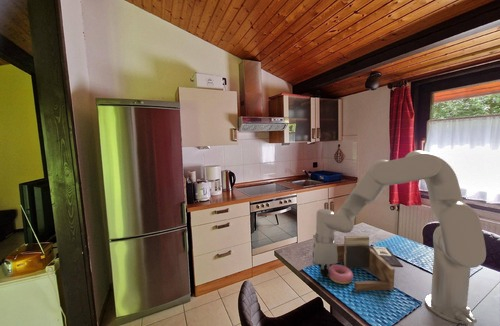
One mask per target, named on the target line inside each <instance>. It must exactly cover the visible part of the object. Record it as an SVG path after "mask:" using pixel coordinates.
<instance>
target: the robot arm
mask: <svg viewBox="0 0 500 326" xmlns="http://www.w3.org/2000/svg"><path fill="white" fill-rule="evenodd" d="M422 180H423V181H424V182H425V186H426V190H427V194H428V199H429V205H430V211H431V214H432V216H433V218H434V219H436V221H437V222H438V223H439V226H437V227H436V228H435V229H434V232H433V235H432V245H433V264H432V277H431V291H430V294H429V295H426V297H425V298H424V299H425V301H424V302H425V303H424V304H425V305H426V306H427V308H428V309H429V310H430V311H431V312H433V313H434V314H435V315H436V316H438V317H440V318H442V319H444V320H446V321H448V322H453V323H456V324H459V323H462V324H461V325H466V326H474V325H475V324H476V323H477V322H478V320H477V319H476V318H475V317H474V316H473V314H472V312H471V308H470V307H468V300H469V299H468V297H469V289H470V288H469V287H470V276H471V269H473V268H477V267H480V266H481V265H483V264H484V262H485V260H486V257H487V248H486V243H485V237H484V236H485V235H484V233H483V232H484V231H483V227H482V223H481V220H480V216H479V215H478V213H477V212H476V211H475V210H474V209H473V208H472V207H471V206H470V205H469V204H468V203H466V202H465V201H464V199H463V194H462V190H461V187H460V184H459V180H458V177H457V175H456V173H455V171H454V169H453V167H451V165H450V164H449V163H448V162H447V161H446V160H445V159H443V158H441V157H440V156H438V155H436V154H435V153H431V152H428V151H425V150H417V149H416V150H413V151H410V152H408V153H406V155H405V157H401V158H396V159H391V160H388V159H377V160H376V161H374V162H373V163H372V164H371V165H370V167H369V168H368V169H367V171H366V172H365V174H363V176H362V177H361V179H360V180H359V181H358V183H357V184H356V186H355V187H354V188H353V190H351V192H350V194H349V195H348V196H347V198H346V199H344V202H343V203H342V204H341V205H340V207H339V208H338V210H337V211H336V214H335V212H334V211H333V210H331V209H328V208H320V209H318V210H317V211H316V214H315V215H316V220H315V223H316V224H315V226H316V227H315V234H313V235H312V238H313V239H314V241H313V245H312V253H311V254H312V256H311V257H312V264H313V265H316V266H318V267H319V268H320V269H319V270H320V275H321V276H322V278H328V269H329V268H330V266H331V265H336V264H337V263H339V262H338V253H337V245H336V244H337V241H336V240H335V231H337V232H340V233H344V234H347V233H351V232H352V231H353V229H354V227H355V226H354V225H355V218H356V217H357V216H358V215H359V213H360V212H361V211H362V210H363V209H364V208H365V207H366V206H367V205H369V204H373V202H375V201H376V200H377V199H378V198H379V196H380V194H381V193H383V191H384V189H386V187H388V186H394V185H400V184H406V183H410V182H417V181H422Z"/></svg>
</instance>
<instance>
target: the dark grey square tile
mask: <svg viewBox="0 0 500 326" xmlns="http://www.w3.org/2000/svg"><path fill="white" fill-rule="evenodd" d="M369 261H370V244H369V245H363V246H346V267H347V268H349V269H370V268H369Z"/></svg>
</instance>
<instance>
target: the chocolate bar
mask: <svg viewBox="0 0 500 326" xmlns="http://www.w3.org/2000/svg"><path fill="white" fill-rule="evenodd" d="M369 246H370V245H369ZM370 248H371V249H373V250H374V251H375V252H376V253H377V254H378V255H379V256H380V257H381V258H383V259H384V260H385V261H386V262H387V263H388V264H389V265H390V266H392V267H398V268H400V267H401V268H403V267H404V266H403V264H402V263H401V262H400V260H398V258H397V257H396V256H395V255H394V254H393V252H392V251H391V249H390V248H389V247H386V246H374V245H372V246H370Z"/></svg>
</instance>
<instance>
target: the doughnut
mask: <svg viewBox="0 0 500 326" xmlns="http://www.w3.org/2000/svg"><path fill="white" fill-rule="evenodd" d="M327 277H328V278H329V279H330V280H331V281H333V282H335V283H337V284H341V285H347V284H350V283H351V282H352V281H353V279H354V273H353V271H352V270H351V268H347V267H345V265H344V264H343V265H342V264H337V263H336V264H332V265H331V266H330V268H329V269H328V275H327Z"/></svg>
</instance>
